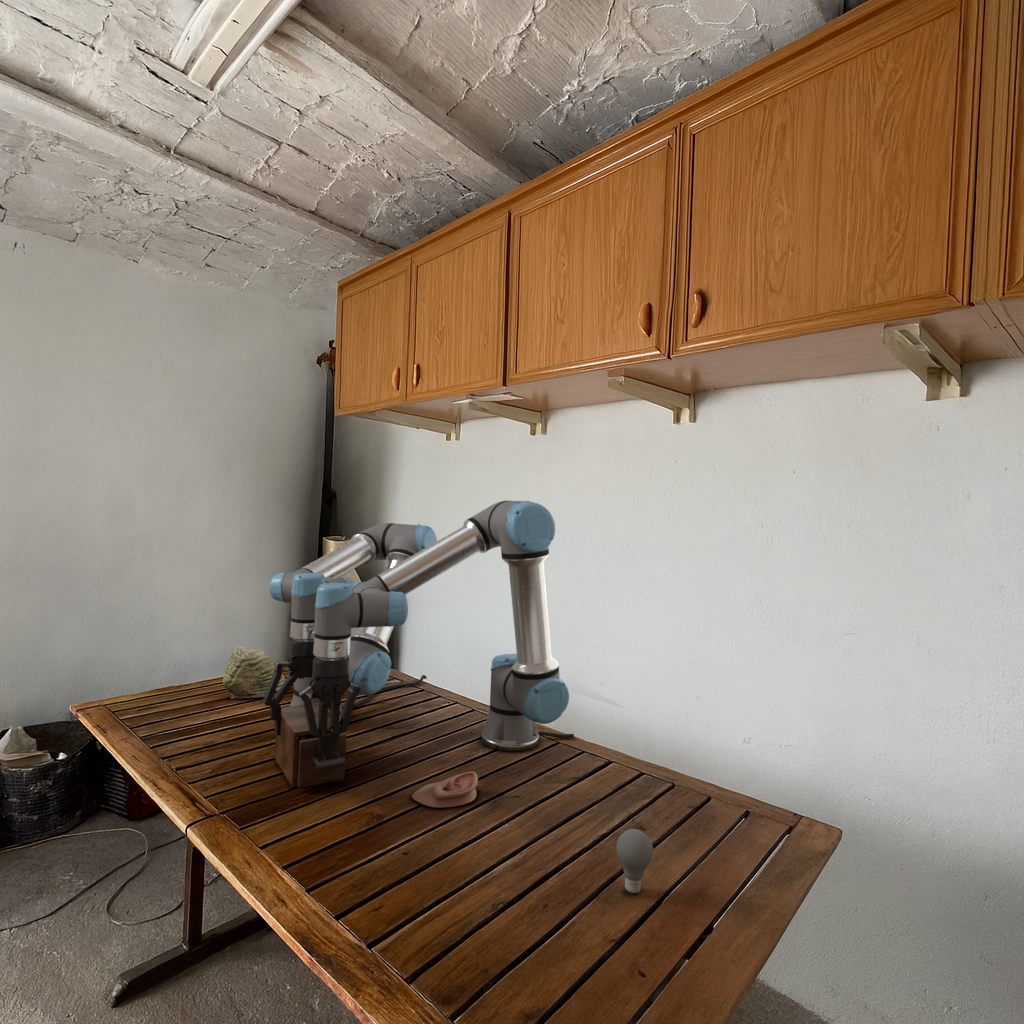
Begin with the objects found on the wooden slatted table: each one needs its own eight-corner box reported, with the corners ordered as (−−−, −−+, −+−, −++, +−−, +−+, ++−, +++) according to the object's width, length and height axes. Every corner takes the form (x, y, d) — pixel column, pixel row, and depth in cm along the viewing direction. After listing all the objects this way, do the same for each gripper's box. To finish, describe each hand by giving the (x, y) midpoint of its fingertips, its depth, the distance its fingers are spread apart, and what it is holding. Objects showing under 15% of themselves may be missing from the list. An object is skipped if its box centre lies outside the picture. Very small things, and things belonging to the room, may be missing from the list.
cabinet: (342, 777, 143) (344, 724, 143) (292, 787, 137) (294, 732, 137) (321, 749, 158) (322, 702, 158) (274, 758, 152) (276, 708, 152)
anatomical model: (407, 784, 132) (425, 763, 143) (406, 803, 132) (424, 780, 143) (468, 793, 129) (482, 770, 140) (467, 812, 129) (481, 788, 141)
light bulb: (610, 879, 108) (613, 822, 108) (644, 879, 109) (647, 822, 109) (619, 902, 102) (622, 840, 102) (655, 901, 103) (658, 840, 103)
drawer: (353, 790, 135) (355, 744, 135) (306, 800, 130) (308, 752, 130) (324, 753, 154) (325, 712, 153) (281, 760, 148) (283, 718, 148)
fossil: (218, 695, 195) (220, 647, 195) (278, 685, 208) (279, 640, 207) (228, 703, 189) (230, 653, 188) (289, 692, 201) (290, 645, 201)
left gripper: (257, 646, 142) (254, 743, 142) (359, 637, 154) (356, 726, 155) (251, 639, 148) (247, 732, 148) (349, 631, 161) (346, 717, 161)
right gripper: (304, 663, 128) (300, 779, 128) (367, 657, 135) (362, 767, 135) (295, 654, 134) (291, 764, 135) (355, 649, 141) (351, 754, 142)
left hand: (303, 729), depth 152 cm, fingers closed on cabinet, 11 cm apart
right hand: (326, 766), depth 135 cm, fingers closed
